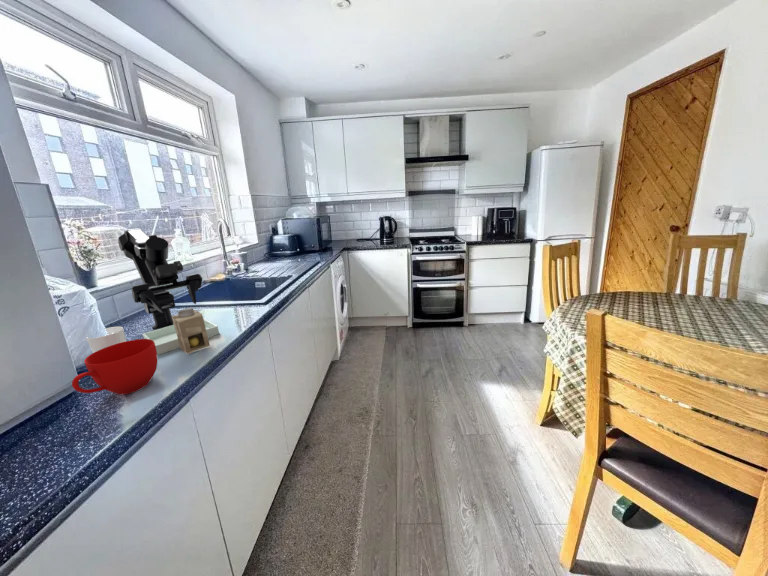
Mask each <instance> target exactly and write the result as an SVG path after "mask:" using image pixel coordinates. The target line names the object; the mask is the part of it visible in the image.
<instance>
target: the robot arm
mask: <svg viewBox="0 0 768 576" xmlns="http://www.w3.org/2000/svg"><path fill="white" fill-rule="evenodd" d="M117 242H118V243H117V244H118V248H119V250H120V251H121V252H123V254H124V256H125V257H126V258H128V259H130V260H132V261H133V264H134V266H135V268H136V271H137V272H138V275H139V277H140V278H141V281H142V283H141V284H136V285H132V286H131V296H132V299H133V302H134V303H135V304H136V303H137V304H139V303H141V304H143V307H144V309H145V312H146V313H147V314H148V315H150V314H151V315H152V317H153V320H154V321H153V322H154V325H153V326H152V330H153V329H154V330H156V329H161V328H164V327H168V326H171V325H174V323H173V319H172V316H173V314H172V313H171V309H175V307H176V303H175V295H173V294H172V292H170V291H171V290H177V289H180V288H185V287H186V289H187V291H188V294H189V295H188V296H189V297H190V299H191V301H192V303H193V305H196V304H197V297H196V296H197V294H196V292H198V290H199V289H201V288H202V285H203V284H202V283H203V277H202V275H201V274H199V273H193V274H188V275H185V280H180V281H179V275H178V274H179V273H180V272H183V270H184V266H183V264H182V262H181V261H180V260H176V261H173V262H171V263H169V261H168V258H169V242H168V240H166V239H165V238H162V237H159V236H157V234H153V235H151V234H150V235H146V234H145V232H144V231H143V229H142V228H128V229H126V230H125V229H124V232H123V234H121V235H120V236H119V237H118V241H117Z"/></svg>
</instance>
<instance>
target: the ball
mask: <svg viewBox="0 0 768 576" xmlns="http://www.w3.org/2000/svg"><path fill="white" fill-rule="evenodd" d="M189 344H190V346H192V347H194V346H197V345H198V344H199V339H198V338H197V337H192V338H190V339H189Z"/></svg>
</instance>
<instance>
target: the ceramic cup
mask: <svg viewBox="0 0 768 576" xmlns="http://www.w3.org/2000/svg"><path fill="white" fill-rule="evenodd" d="M84 364H85V368H86V369H87V371H86V372H82V373H80V374H78V375H76V376H74V378H73V379H72V381H71V386H72V388H73V389H74V390H75V391H77V392H78V393H81V394H90V393H98V392H101V391H104V390H106V391H108V392H110V393H114V394H116V395H129V394H132V393H134V392H137V391H139V390H142V389H143V388H145V387H146V386H148V385H149V383H150V381H151V380H152V379H153V377H154V375H155V372H156V370H157V368H158V355H157V352H156V346H155V343H154V341H153V340H150V339H144V338H140V339H139V338H138V339H132V340H126V342H122V343H118V344H115V345H111V346H108V347H106V348H103V349H101V350H99V351H96V352H94V353H93V352H92V353H90V354H89V355H88V356H87V357H86V358H85V359H84ZM86 376H89V377H91V378H92V380H93V381H94V382H95V384H97V385H98V386H99V387H95V388H89V389H85V388H82V387H80V385H79V381H80V380H81V379H82V378H85V377H86Z"/></svg>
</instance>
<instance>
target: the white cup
mask: <svg viewBox="0 0 768 576" xmlns="http://www.w3.org/2000/svg"><path fill="white" fill-rule="evenodd" d="M104 329H106V331H107V332H108V333H107V334H109V335H106V336H101V337H96V338H88V337H86V336H85V338H86V340H87V343H88V345H89V347H90V349H91V352H92V354H93V353H94V352H96V351H99V350H101V349H103V348H106V347H108V346H111V345H115V344H118V343H122V342H126V341H127V337H126V333H125V330H124V327H123V326H111V327H106V328H104Z"/></svg>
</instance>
